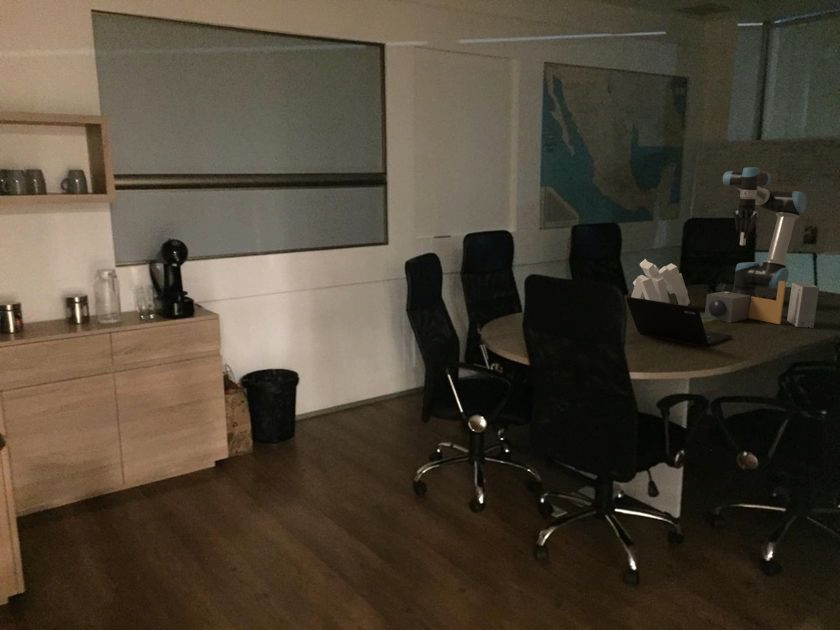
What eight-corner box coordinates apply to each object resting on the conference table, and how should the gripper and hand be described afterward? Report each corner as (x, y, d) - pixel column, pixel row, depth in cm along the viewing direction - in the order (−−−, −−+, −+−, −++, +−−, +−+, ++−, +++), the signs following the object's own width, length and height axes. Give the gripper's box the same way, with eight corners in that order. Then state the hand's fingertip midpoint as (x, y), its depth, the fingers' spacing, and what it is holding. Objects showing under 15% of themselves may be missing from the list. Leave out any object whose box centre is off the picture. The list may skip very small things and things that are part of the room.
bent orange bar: (748, 317, 339) (753, 277, 334) (749, 317, 339) (754, 277, 335) (779, 324, 326) (784, 281, 321) (780, 323, 326) (786, 281, 322)
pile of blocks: (654, 310, 384) (629, 256, 379) (705, 297, 363) (679, 239, 358) (633, 337, 360) (606, 280, 354) (686, 325, 339) (658, 264, 334)
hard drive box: (814, 328, 320) (819, 287, 316) (796, 327, 322) (802, 286, 317) (802, 321, 335) (808, 282, 331) (786, 320, 336) (791, 281, 332)
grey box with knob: (721, 313, 351) (724, 290, 348) (747, 318, 339) (750, 294, 337) (702, 317, 340) (704, 293, 338) (728, 323, 329) (730, 297, 326)
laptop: (732, 339, 299) (737, 296, 295) (693, 353, 274) (698, 307, 270) (663, 326, 323) (666, 286, 319) (621, 338, 298) (625, 295, 294)
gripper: (731, 198, 340) (726, 244, 345) (756, 199, 330) (750, 246, 335) (739, 197, 345) (734, 243, 350) (764, 198, 334) (758, 245, 339)
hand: (742, 244), depth 342 cm, fingers closed
